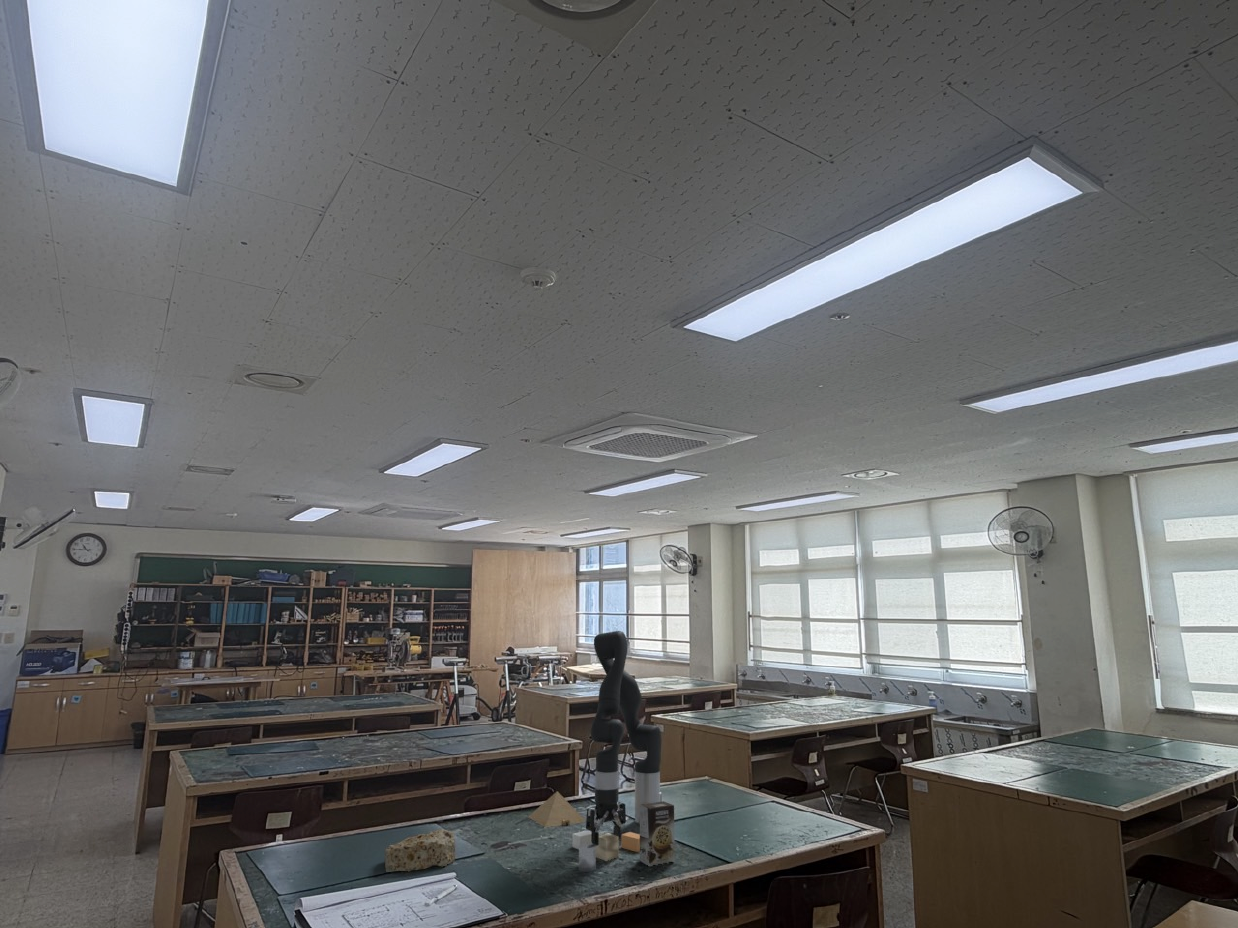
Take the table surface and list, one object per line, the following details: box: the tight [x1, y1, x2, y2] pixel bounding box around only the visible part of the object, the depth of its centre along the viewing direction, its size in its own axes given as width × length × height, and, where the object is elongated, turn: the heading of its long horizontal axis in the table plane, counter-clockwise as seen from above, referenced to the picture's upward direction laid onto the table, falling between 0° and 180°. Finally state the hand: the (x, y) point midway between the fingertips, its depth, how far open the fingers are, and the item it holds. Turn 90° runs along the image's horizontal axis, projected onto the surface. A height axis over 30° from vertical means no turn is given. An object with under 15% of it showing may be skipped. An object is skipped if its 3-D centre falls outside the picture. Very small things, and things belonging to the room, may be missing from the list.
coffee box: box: [639, 800, 675, 867], centre depth 214 cm, size 9×6×16 cm
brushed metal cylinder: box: [578, 844, 597, 873], centre depth 207 cm, size 5×5×6 cm
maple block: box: [596, 832, 620, 862], centre depth 217 cm, size 5×5×6 cm
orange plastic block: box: [620, 831, 640, 853], centre depth 225 cm, size 4×7×4 cm, turn 48°
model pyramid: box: [528, 791, 586, 828], centre depth 258 cm, size 17×17×10 cm
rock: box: [384, 828, 456, 872], centre depth 211 cm, size 21×14×10 cm
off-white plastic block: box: [572, 829, 592, 850], centre depth 227 cm, size 6×4×4 cm, turn 130°
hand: (606, 842), depth 217 cm, fingers open, 8 cm apart
